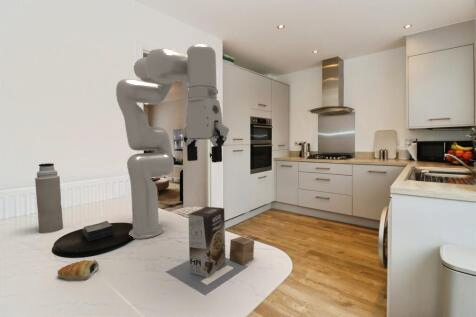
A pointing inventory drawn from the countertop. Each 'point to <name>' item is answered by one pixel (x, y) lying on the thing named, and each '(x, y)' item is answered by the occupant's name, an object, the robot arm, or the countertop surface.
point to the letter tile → (204, 283)
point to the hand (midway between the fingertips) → (204, 161)
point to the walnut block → (241, 250)
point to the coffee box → (206, 240)
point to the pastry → (79, 270)
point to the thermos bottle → (48, 199)
